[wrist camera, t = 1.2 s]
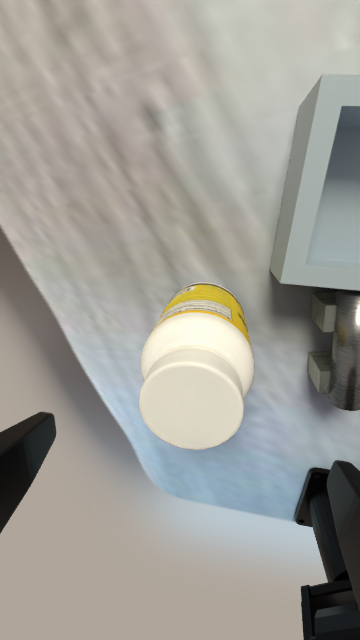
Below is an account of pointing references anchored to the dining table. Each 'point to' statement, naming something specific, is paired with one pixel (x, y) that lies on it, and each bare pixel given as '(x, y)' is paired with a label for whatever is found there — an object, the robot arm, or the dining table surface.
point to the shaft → (338, 348)
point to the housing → (322, 191)
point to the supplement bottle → (197, 368)
